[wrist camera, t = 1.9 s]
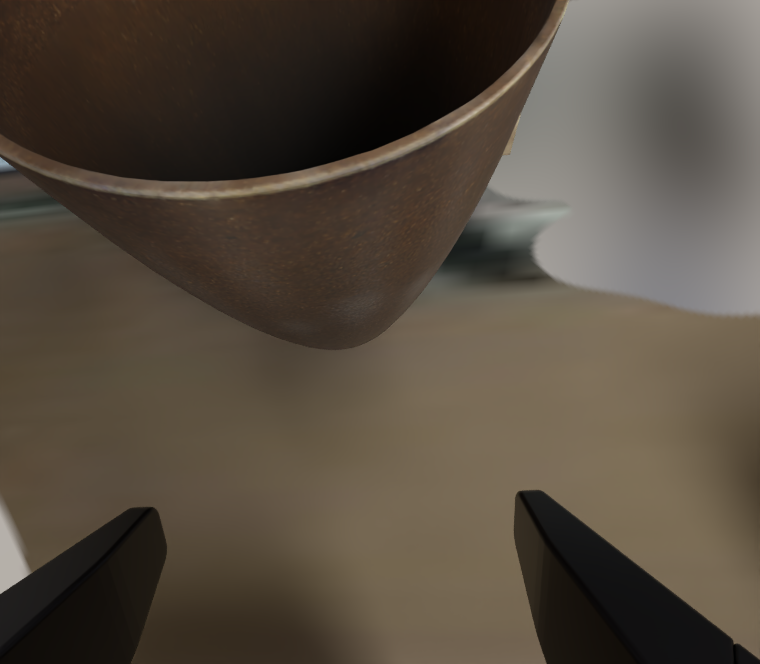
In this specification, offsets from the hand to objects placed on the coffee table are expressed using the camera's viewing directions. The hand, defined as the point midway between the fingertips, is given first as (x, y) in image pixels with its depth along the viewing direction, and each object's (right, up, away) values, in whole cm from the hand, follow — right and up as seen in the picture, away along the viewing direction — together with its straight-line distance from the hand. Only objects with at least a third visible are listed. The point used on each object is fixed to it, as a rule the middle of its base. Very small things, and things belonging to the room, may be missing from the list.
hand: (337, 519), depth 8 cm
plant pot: (-2, +6, +18) cm, 19 cm away
